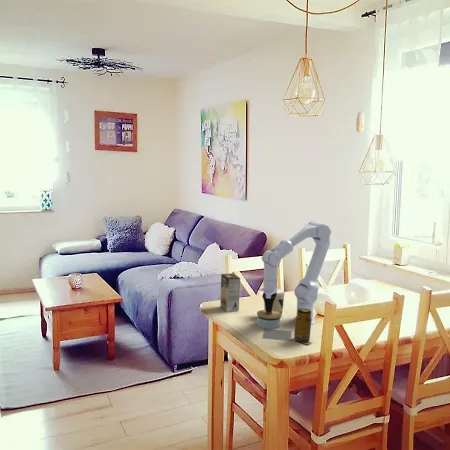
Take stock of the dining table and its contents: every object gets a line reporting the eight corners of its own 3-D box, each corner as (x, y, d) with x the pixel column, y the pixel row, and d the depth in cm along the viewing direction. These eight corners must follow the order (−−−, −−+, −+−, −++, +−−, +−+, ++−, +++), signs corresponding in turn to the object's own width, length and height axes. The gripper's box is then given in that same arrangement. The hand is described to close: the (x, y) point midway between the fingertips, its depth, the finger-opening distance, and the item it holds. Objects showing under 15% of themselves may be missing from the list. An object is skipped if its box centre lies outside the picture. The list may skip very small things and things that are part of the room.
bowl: (258, 321, 209) (258, 312, 209) (280, 323, 208) (280, 314, 207) (255, 328, 200) (256, 319, 200) (278, 330, 198) (279, 321, 198)
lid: (259, 310, 209) (259, 299, 209) (282, 313, 207) (282, 302, 206) (255, 317, 200) (255, 306, 199) (279, 320, 197) (279, 308, 197)
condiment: (299, 336, 193) (302, 306, 192) (317, 341, 187) (320, 311, 186) (289, 339, 187) (291, 309, 186) (307, 345, 182) (310, 314, 181)
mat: (264, 329, 199) (264, 328, 199) (291, 332, 197) (291, 331, 197) (262, 339, 188) (262, 338, 188) (290, 341, 186) (290, 340, 186)
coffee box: (219, 306, 229) (220, 273, 227) (232, 305, 231) (233, 273, 229) (226, 312, 221) (227, 278, 219) (239, 311, 223) (240, 277, 221)
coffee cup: (282, 320, 211) (283, 294, 210) (261, 318, 213) (262, 292, 211) (284, 314, 220) (285, 288, 219) (264, 312, 222) (265, 287, 220)
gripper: (262, 274, 209) (261, 304, 211) (259, 282, 195) (257, 314, 197) (278, 275, 208) (277, 306, 210) (276, 283, 194) (274, 316, 196)
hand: (269, 310), depth 203 cm, fingers closed on lid, 3 cm apart
